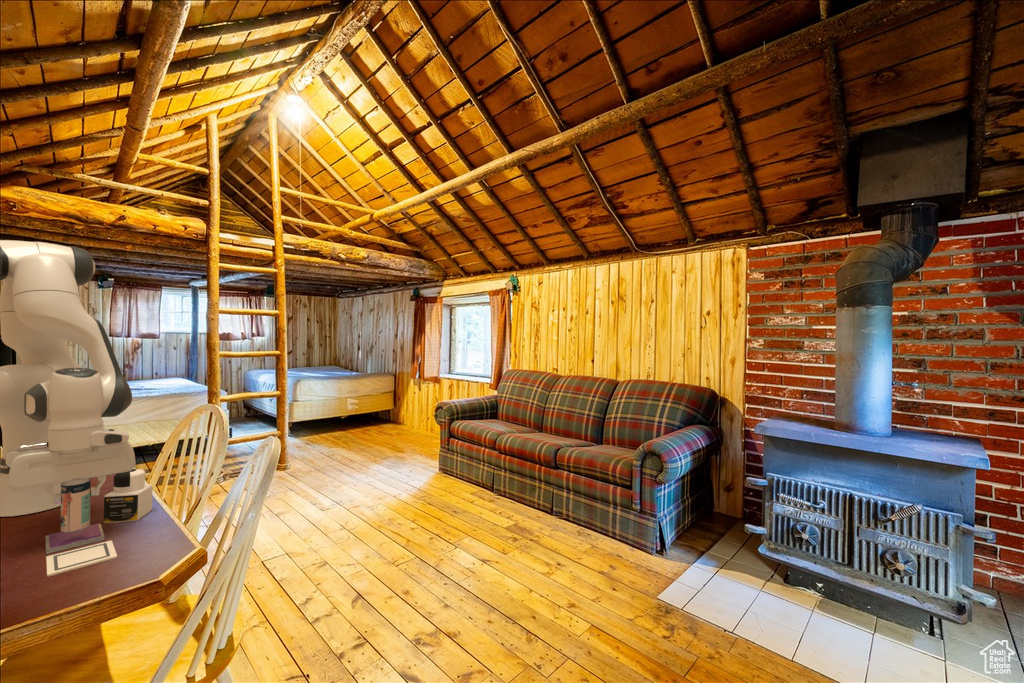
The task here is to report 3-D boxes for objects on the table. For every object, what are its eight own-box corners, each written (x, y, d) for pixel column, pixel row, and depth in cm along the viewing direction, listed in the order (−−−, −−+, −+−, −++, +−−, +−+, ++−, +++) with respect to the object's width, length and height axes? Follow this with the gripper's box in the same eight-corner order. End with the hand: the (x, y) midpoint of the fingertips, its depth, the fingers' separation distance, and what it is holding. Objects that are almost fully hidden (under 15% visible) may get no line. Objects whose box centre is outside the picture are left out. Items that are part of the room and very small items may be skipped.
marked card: (46, 558, 88) (46, 556, 88) (111, 542, 96) (111, 539, 96) (47, 576, 81) (47, 574, 81) (117, 557, 89) (117, 555, 89)
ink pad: (45, 540, 96) (45, 534, 96) (100, 527, 102) (100, 522, 102) (46, 554, 90) (46, 548, 90) (104, 539, 96) (104, 534, 96)
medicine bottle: (102, 524, 104) (103, 476, 104) (120, 512, 111) (121, 467, 111) (137, 521, 106) (138, 474, 106) (152, 510, 113) (153, 466, 113)
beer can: (62, 528, 96) (62, 476, 96) (91, 522, 99) (92, 472, 99) (58, 536, 93) (58, 482, 92) (88, 530, 96) (89, 478, 95)
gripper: (4, 450, 86) (4, 517, 86) (137, 434, 101) (136, 490, 101) (6, 444, 90) (5, 508, 90) (133, 430, 105) (132, 484, 106)
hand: (76, 499), depth 96 cm, fingers closed on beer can, 5 cm apart
